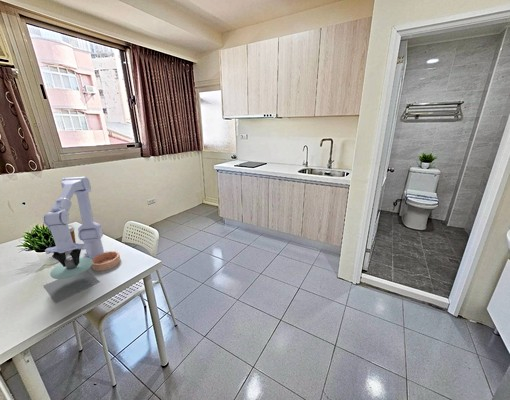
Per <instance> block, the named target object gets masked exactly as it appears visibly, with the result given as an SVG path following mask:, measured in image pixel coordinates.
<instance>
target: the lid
mask: <svg viewBox="0 0 510 400" xmlns="http://www.w3.org/2000/svg"><path fill="white" fill-rule="evenodd" d="M64 262H65V265H66V267H63V265H62V264H61V263H59V264H58V265H56V266H55V267H54V268H53V269H52V270H51V271H50V277H51V278H52V279H54V280H58V279H65V278H70V277H73V276H76V275H78V274H81V273H82V272H84V271H86V270H89V269H90V268H92V264H93V261H92V258H90V257H86V256H85V257H79V264H78V265H75V263H74V260H73V258H72V257H71V256H70V257H66V259H65V260H64Z"/></svg>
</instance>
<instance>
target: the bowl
mask: <svg viewBox="0 0 510 400" xmlns="http://www.w3.org/2000/svg"><path fill="white" fill-rule="evenodd" d="M91 259H92V261H93V264H92V266H91V268H92V269H93V270H94V271H96V272H102V271H107V270H110V269H112V268H114V267H117V265H119V263H121V256H120V253H119V252H118V251H116V250H109V251H107V252H104V253H101V254H99V255H97V256H95V257H94V258H91Z"/></svg>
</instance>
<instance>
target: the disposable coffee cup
mask: <svg viewBox="0 0 510 400" xmlns="http://www.w3.org/2000/svg"><path fill="white" fill-rule="evenodd" d="M68 227H69V230H70V233H71V237H72V240H73V243H75V244H77V243H76V235H75V227H74V226H73V224H72V225H71V224H68Z"/></svg>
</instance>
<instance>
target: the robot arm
mask: <svg viewBox="0 0 510 400" xmlns="http://www.w3.org/2000/svg"><path fill="white" fill-rule="evenodd" d="M60 183H61V184H60V185H61V187H62V190H61V194H60V196H59V197H58V198H56V199H55V200H54V203H53V204H52V207H51V209H50V210H49V211H48V212H47V213H45V214H44V215H43V223H44V225H45V226H46V227H47V230H49V231H50V233H51V235H52V239H53V242H54V244H55V246H52V247H51V246H50V247H47V248H46V249H44V252H45V254H46V255H49V254H53V255H52V258H53V259H55V260H56V261H58V262H59V264H62V265H63V267H66V265H65V262H64V260H65V259H67V255H66V252H69V251H71V252H69V255H70V257H72V258H73V260H74V263H75V265H78V264H79V258H81V257H80V256H81V251H85V252H84V255H86V256H87V258H91V259H92V258H94V257H95V256H97V255H99V254H101V253H104V252H108V251H106V249H104V245H103V242H102V239H101V238H103V236H104V230H103V228H102V225H101V224H100V223H98V222H95V220H94V216H93V210H92V206H91V200H90V196H89V192H91V191H92V189H91V188H92V187H91V183H90V179H89V178H88V177H87V176H74V177H73V176H71V177H62V179H61V180H60ZM74 195H76V198H77V203H78V204H77V205H78V208H79V212H80V218H81V224H80V226H78V229H77V231H78V232H77V233H78V235H77V237H78V239H79V240H80V241H82V243H76V244H75V243H73V240H72V237H71V233H70V230H69V227H68V225H69V224H68V223H69V220H70V217H69V216H70V213H69V211H70V210H71V207H72V201H71V200H72V198H73V196H74Z"/></svg>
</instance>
